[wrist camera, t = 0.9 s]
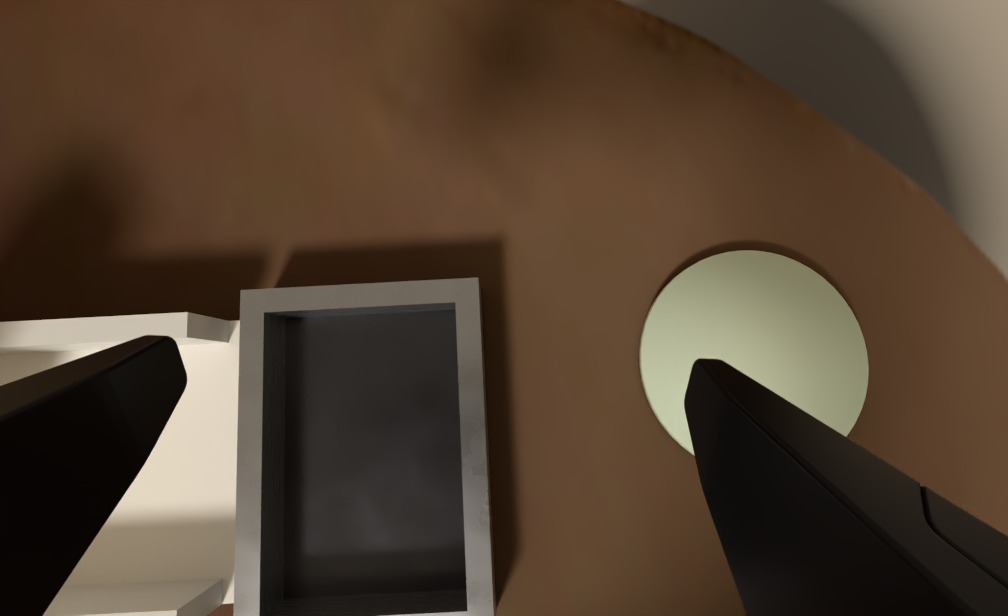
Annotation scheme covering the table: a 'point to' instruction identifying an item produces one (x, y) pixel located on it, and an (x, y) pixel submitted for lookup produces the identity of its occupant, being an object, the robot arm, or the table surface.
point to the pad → (755, 337)
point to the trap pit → (363, 452)
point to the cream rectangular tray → (155, 471)
